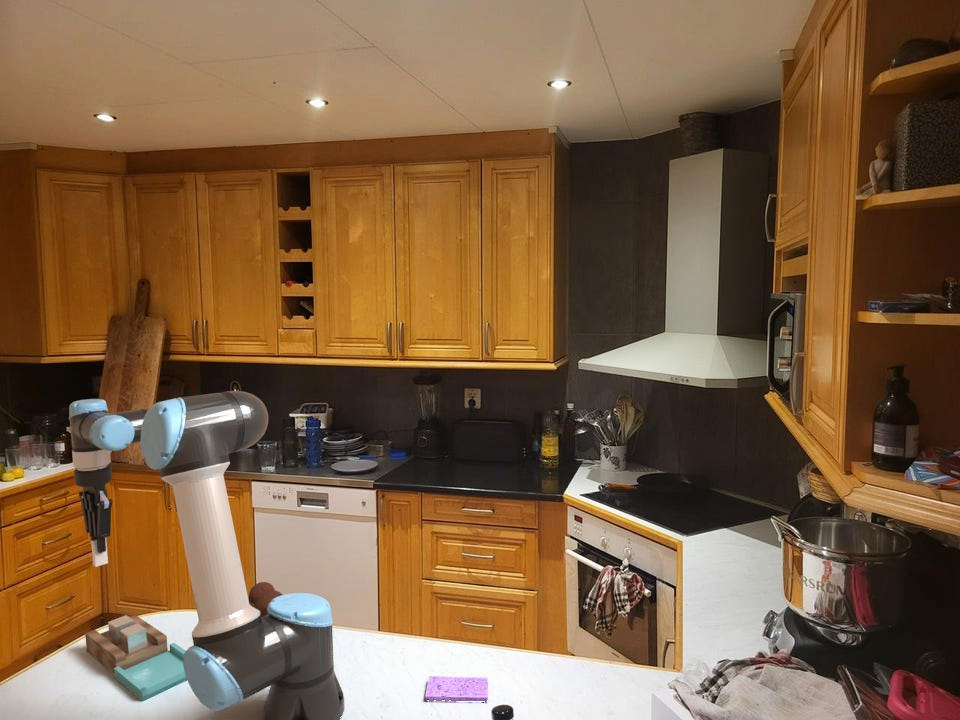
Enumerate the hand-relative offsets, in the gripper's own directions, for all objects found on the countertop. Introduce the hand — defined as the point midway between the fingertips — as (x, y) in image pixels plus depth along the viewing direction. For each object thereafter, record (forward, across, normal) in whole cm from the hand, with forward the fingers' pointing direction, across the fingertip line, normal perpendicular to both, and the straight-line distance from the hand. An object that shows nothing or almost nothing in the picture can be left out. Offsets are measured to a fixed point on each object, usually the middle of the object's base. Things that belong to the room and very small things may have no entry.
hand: (100, 564), depth 158 cm
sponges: (+19, -80, -36) cm, 90 cm away
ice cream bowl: (+18, -34, -21) cm, 44 cm away
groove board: (+18, -11, 0) cm, 21 cm away
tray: (+18, -26, 0) cm, 31 cm away
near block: (+15, -15, 0) cm, 21 cm away
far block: (+15, -9, 0) cm, 18 cm away
